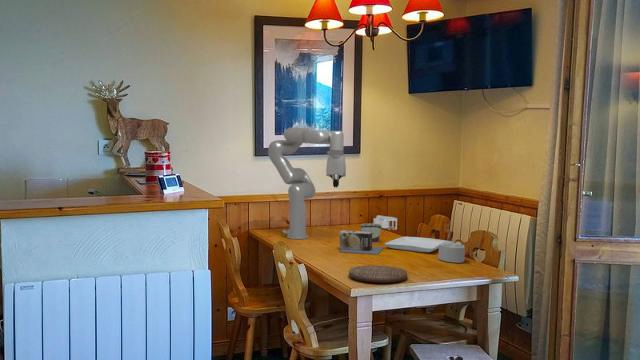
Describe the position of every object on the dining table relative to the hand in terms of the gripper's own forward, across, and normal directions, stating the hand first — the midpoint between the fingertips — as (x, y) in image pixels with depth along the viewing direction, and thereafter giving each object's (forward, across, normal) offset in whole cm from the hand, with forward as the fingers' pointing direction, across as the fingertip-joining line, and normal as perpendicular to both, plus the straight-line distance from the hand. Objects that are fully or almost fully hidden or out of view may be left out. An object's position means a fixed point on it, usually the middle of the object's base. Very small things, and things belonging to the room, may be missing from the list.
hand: (335, 187), depth 340 cm
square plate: (+32, +45, +2) cm, 55 cm away
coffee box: (+26, +7, -15) cm, 31 cm away
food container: (+31, +18, +12) cm, 38 cm away
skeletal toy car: (+32, +18, +65) cm, 75 cm away
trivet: (+32, +35, -70) cm, 84 cm away
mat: (+31, +18, -15) cm, 39 cm away
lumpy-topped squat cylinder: (+31, +65, -26) cm, 76 cm away
